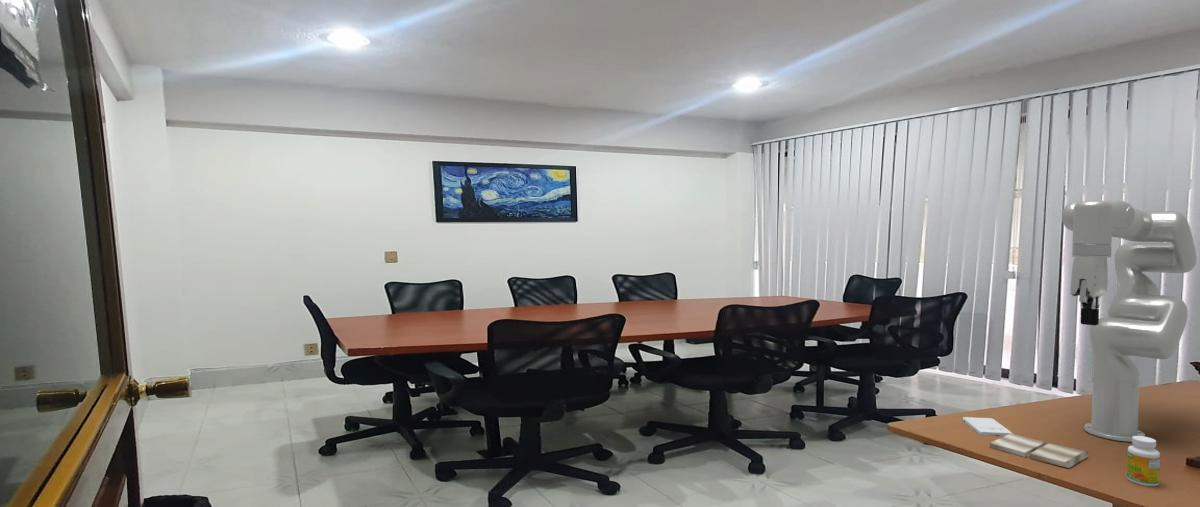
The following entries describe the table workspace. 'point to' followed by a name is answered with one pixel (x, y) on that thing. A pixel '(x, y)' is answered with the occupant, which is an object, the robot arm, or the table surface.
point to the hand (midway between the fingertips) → (1089, 324)
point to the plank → (1059, 455)
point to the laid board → (1017, 445)
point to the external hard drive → (986, 426)
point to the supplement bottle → (1143, 461)
